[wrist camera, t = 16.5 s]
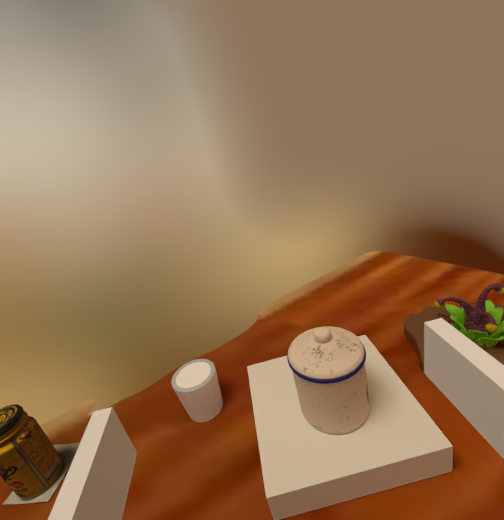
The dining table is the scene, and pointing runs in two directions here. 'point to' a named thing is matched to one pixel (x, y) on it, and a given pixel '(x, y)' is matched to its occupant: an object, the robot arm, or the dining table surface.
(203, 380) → the white cup
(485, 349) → the plant
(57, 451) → the condiment
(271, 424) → the plinth
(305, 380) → the teacup with lid
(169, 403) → the dining table surface
